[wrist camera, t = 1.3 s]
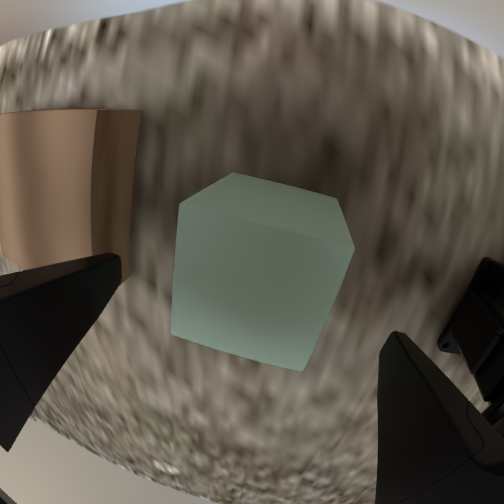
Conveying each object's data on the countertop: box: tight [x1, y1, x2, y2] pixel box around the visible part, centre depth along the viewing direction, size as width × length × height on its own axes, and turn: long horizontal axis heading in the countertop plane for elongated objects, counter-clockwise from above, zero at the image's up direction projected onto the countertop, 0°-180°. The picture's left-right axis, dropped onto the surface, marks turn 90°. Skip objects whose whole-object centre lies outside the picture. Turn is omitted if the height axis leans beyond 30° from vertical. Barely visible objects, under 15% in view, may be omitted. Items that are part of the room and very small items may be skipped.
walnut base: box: [0, 108, 142, 286], centre depth 14 cm, size 10×10×4 cm
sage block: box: [171, 172, 355, 372], centre depth 11 cm, size 5×5×6 cm
